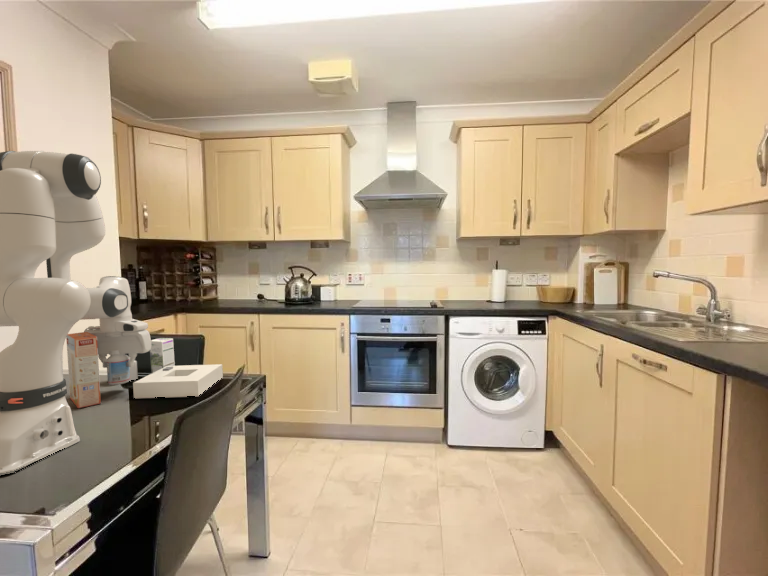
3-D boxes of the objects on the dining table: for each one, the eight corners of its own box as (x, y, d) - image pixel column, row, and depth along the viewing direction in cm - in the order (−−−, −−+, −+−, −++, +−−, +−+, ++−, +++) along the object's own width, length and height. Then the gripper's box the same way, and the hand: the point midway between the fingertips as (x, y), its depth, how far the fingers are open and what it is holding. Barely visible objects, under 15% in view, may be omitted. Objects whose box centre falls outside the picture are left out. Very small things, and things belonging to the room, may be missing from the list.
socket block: (198, 396, 120) (197, 378, 119) (133, 398, 119) (132, 381, 118) (222, 377, 140) (222, 362, 139) (167, 379, 139) (166, 364, 138)
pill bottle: (134, 380, 128) (133, 347, 128) (120, 385, 122) (118, 351, 122) (117, 379, 129) (116, 347, 128) (102, 385, 123) (101, 351, 122)
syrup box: (176, 375, 144) (174, 337, 143) (163, 380, 138) (161, 340, 137) (163, 374, 145) (161, 337, 144) (150, 379, 139) (148, 340, 139)
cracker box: (102, 403, 115) (98, 335, 113) (77, 409, 110) (72, 338, 109) (93, 393, 124) (88, 330, 123) (69, 398, 120) (64, 333, 119)
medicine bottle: (138, 379, 139) (136, 347, 139) (116, 385, 133) (114, 351, 133) (129, 376, 143) (127, 345, 142) (107, 382, 137) (105, 349, 136)
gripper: (76, 327, 121) (78, 370, 122) (141, 325, 122) (143, 368, 123) (91, 325, 128) (93, 365, 128) (152, 323, 128) (154, 363, 129)
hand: (118, 367), depth 125 cm, fingers closed on pill bottle, 6 cm apart
